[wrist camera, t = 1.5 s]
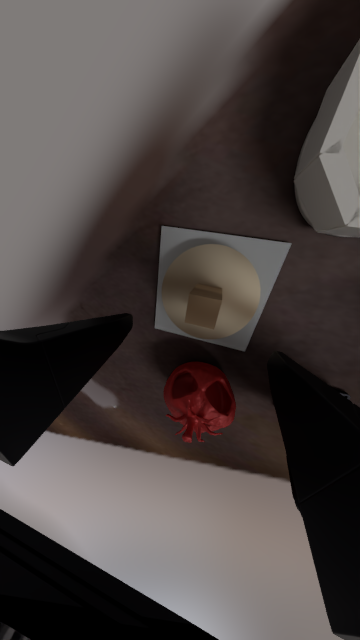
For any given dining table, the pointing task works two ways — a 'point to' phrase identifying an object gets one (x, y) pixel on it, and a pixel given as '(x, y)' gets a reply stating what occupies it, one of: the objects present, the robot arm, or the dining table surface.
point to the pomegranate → (199, 399)
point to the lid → (211, 291)
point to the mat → (257, 251)
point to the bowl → (333, 158)
